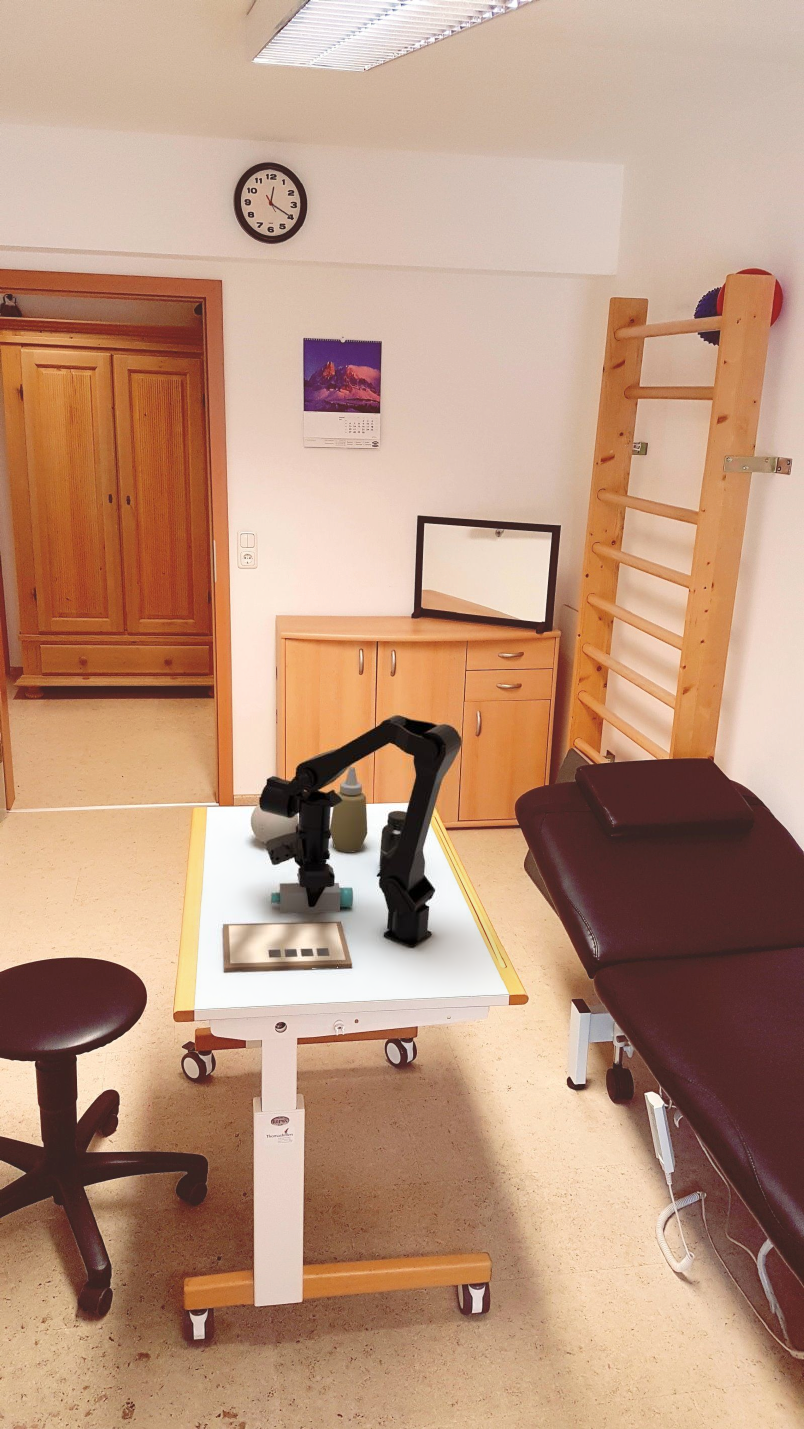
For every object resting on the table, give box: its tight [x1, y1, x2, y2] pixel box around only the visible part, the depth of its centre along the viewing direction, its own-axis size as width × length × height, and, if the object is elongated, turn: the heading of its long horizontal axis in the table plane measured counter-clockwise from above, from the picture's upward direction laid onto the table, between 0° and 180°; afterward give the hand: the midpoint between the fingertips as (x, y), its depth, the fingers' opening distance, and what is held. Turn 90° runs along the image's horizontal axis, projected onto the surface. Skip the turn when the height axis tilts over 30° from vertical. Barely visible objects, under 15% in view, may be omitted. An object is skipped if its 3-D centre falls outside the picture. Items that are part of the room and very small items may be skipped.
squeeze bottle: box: [330, 766, 368, 853], centre depth 215 cm, size 8×8×18 cm
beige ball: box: [250, 803, 299, 844], centre depth 216 cm, size 10×10×10 cm
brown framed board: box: [222, 920, 353, 973], centre depth 174 cm, size 21×15×1 cm
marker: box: [270, 882, 354, 914], centre depth 189 cm, size 15×4×4 cm, turn 99°
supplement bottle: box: [378, 810, 407, 869], centre depth 207 cm, size 7×7×12 cm
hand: (310, 901), depth 189 cm, fingers closed on marker, 4 cm apart
